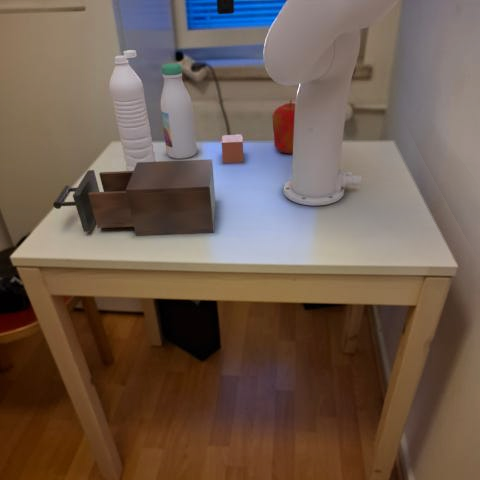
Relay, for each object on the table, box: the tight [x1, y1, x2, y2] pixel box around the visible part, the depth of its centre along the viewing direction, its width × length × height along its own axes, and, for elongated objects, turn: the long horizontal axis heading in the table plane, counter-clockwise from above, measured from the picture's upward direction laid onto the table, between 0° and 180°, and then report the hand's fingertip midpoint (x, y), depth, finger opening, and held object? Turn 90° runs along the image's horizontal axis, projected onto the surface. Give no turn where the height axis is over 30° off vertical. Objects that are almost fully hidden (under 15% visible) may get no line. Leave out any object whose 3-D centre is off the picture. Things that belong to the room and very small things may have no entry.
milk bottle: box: [159, 62, 198, 160], centre depth 104 cm, size 8×8×20 cm
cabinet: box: [126, 159, 216, 237], centre depth 83 cm, size 15×12×9 cm
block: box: [221, 134, 244, 164], centre depth 106 cm, size 5×5×5 cm
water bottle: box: [108, 49, 157, 171], centre depth 92 cm, size 9×6×25 cm
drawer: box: [52, 169, 134, 233], centre depth 83 cm, size 18×11×7 cm, turn 91°
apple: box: [271, 99, 295, 155], centre depth 106 cm, size 9×8×12 cm
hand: (226, 10), depth 87 cm, fingers open, 8 cm apart
